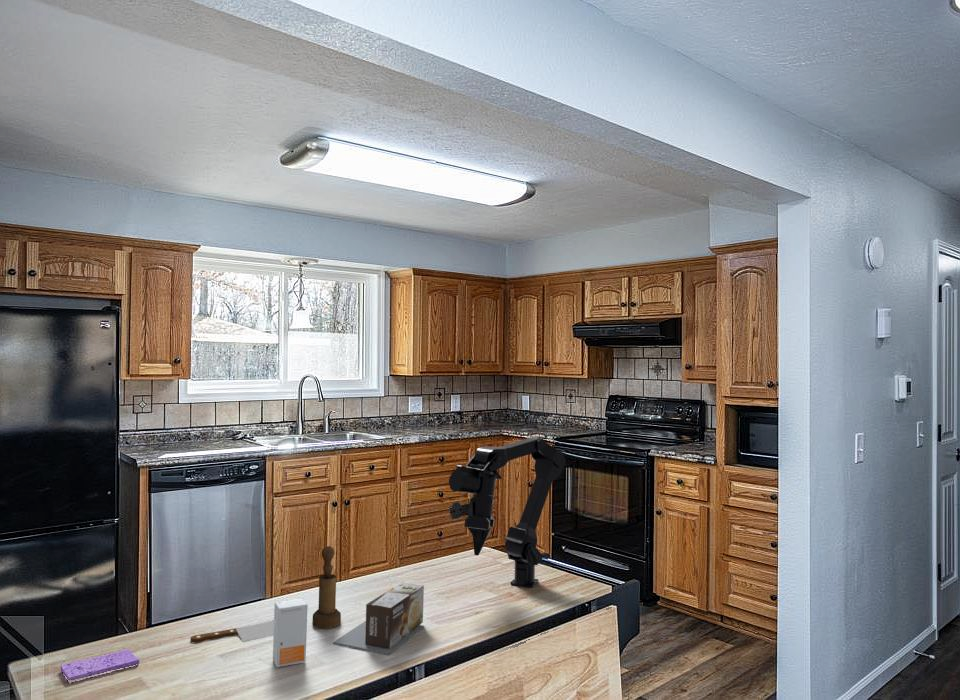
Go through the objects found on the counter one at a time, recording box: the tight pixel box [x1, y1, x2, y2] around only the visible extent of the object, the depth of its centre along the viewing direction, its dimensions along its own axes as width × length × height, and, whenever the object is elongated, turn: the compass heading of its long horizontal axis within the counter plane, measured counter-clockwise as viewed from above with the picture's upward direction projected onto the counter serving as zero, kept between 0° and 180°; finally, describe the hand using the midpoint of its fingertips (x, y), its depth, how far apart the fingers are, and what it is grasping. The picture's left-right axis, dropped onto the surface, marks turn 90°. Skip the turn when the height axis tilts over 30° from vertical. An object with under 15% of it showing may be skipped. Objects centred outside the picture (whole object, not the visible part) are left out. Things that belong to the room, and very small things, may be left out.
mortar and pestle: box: [311, 545, 342, 630], centre depth 160 cm, size 7×6×18 cm
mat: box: [332, 620, 425, 656], centre depth 153 cm, size 16×14×1 cm
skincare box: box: [272, 598, 309, 668], centre depth 139 cm, size 6×4×12 cm
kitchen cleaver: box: [190, 619, 274, 644], centre depth 153 cm, size 24×1×10 cm
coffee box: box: [365, 581, 425, 648], centre depth 154 cm, size 9×6×16 cm
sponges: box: [60, 648, 140, 680], centre depth 135 cm, size 7×13×2 cm, turn 132°
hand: (476, 555), depth 178 cm, fingers closed
